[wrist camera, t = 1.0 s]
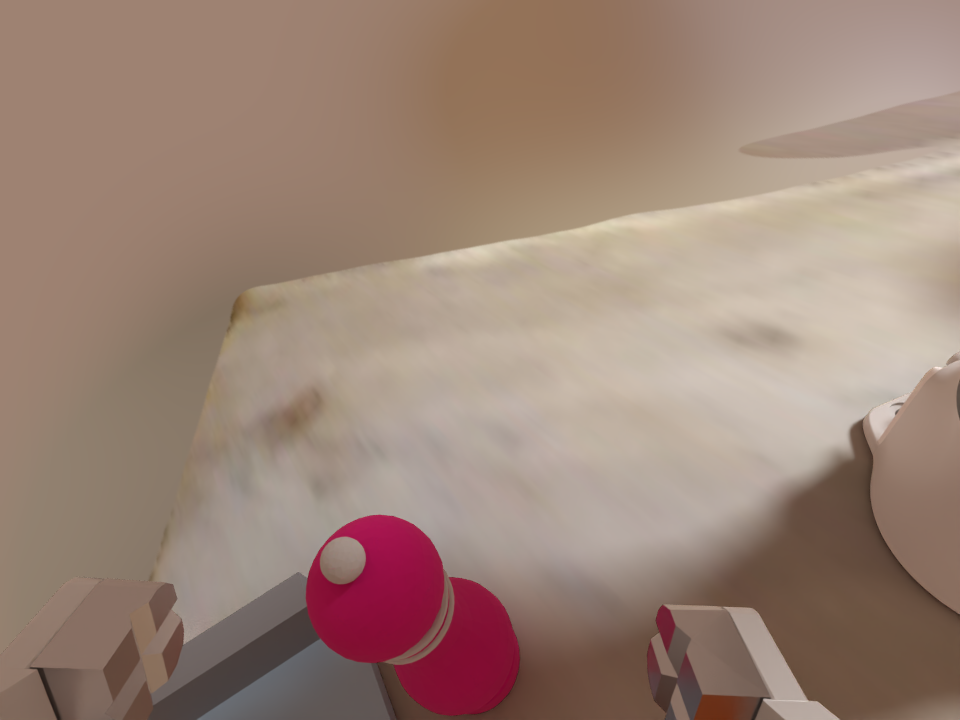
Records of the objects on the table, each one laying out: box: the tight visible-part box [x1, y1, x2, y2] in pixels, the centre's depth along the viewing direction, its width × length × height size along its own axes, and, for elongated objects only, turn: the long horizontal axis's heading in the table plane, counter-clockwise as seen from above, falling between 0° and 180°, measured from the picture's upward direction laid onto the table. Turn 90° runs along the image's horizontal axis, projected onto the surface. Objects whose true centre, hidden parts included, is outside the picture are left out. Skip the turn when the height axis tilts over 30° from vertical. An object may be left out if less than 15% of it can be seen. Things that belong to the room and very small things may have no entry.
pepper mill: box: [306, 515, 520, 716], centre depth 29 cm, size 7×7×20 cm
